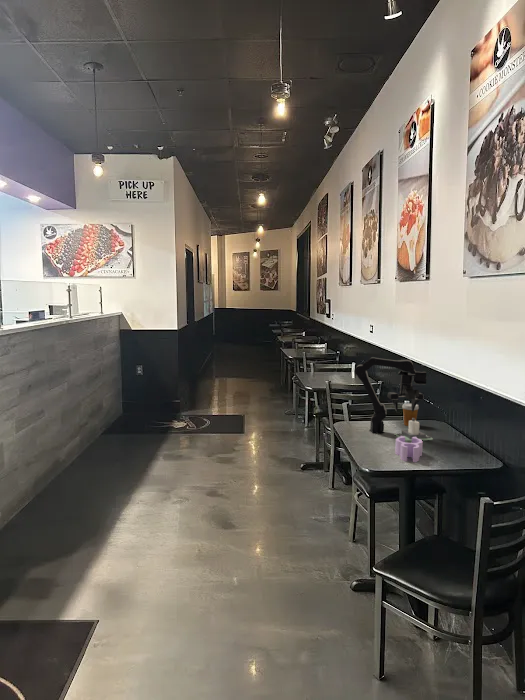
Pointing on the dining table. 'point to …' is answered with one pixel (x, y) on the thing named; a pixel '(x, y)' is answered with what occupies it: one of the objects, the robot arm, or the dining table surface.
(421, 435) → the header socket
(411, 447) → the clip
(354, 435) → the dining table surface
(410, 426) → the keyed plug
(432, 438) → the circuit board
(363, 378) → the robot arm
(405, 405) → the disposable coffee cup
